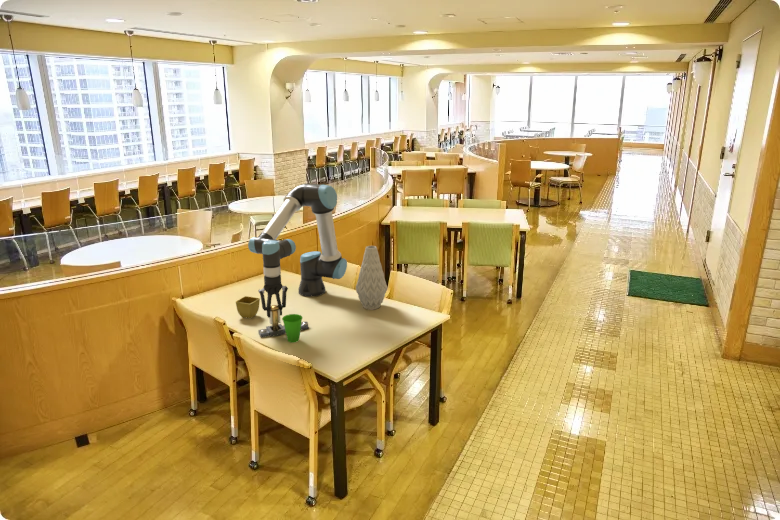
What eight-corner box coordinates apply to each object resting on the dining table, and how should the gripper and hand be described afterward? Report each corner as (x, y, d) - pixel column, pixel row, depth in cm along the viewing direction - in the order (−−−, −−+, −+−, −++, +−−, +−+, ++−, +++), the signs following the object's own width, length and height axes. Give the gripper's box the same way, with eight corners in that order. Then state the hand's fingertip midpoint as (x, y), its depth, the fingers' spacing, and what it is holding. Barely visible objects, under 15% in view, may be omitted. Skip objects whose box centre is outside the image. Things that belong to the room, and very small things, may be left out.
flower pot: (261, 314, 270) (260, 297, 267) (251, 320, 262) (250, 303, 259) (246, 312, 273) (245, 295, 270) (236, 318, 265) (235, 301, 262)
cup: (284, 336, 245) (283, 314, 242) (304, 335, 246) (303, 313, 243) (282, 344, 237) (281, 322, 233) (302, 344, 237) (301, 321, 234)
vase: (351, 310, 275) (350, 249, 266) (361, 299, 291) (360, 241, 281) (382, 314, 271) (382, 252, 262) (390, 303, 286) (391, 244, 277)
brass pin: (278, 328, 251) (277, 304, 248) (281, 331, 248) (279, 307, 244) (270, 329, 249) (268, 305, 246) (272, 333, 246) (270, 308, 242)
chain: (305, 323, 259) (305, 319, 258) (310, 329, 253) (310, 324, 252) (257, 332, 249) (257, 328, 248) (261, 338, 243) (261, 333, 242)
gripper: (287, 270, 247) (289, 317, 254) (252, 274, 241) (256, 322, 247) (291, 274, 241) (294, 322, 248) (256, 279, 234) (259, 328, 241)
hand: (275, 322), depth 247 cm, fingers closed on brass pin, 3 cm apart
